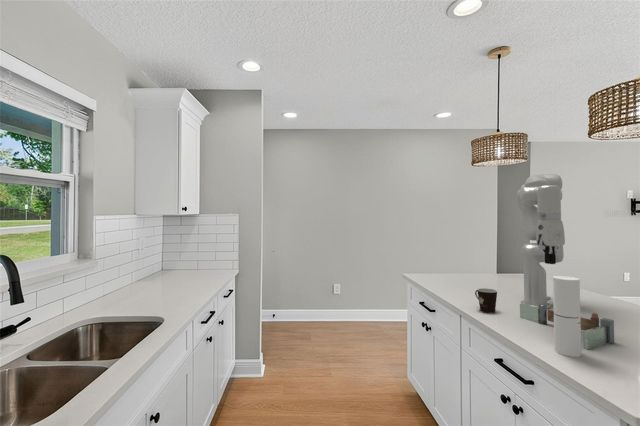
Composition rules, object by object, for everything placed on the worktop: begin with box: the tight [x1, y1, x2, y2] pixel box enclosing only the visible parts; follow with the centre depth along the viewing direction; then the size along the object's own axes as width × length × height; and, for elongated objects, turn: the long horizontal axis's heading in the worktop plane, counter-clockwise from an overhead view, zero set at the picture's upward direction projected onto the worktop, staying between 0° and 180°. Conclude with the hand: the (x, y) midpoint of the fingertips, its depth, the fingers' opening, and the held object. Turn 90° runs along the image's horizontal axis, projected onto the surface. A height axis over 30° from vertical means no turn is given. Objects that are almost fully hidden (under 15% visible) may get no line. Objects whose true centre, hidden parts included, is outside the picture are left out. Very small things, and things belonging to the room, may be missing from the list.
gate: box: [547, 309, 600, 332], centre depth 127 cm, size 17×2×9 cm, turn 25°
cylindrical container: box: [552, 275, 582, 358], centre depth 109 cm, size 7×7×25 cm
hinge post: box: [519, 303, 548, 326], centre depth 141 cm, size 3×11×8 cm, turn 24°
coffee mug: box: [474, 287, 498, 314], centre depth 157 cm, size 12×9×10 cm
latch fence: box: [583, 317, 615, 350], centre depth 114 cm, size 15×3×8 cm, turn 115°
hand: (550, 263), depth 127 cm, fingers closed
